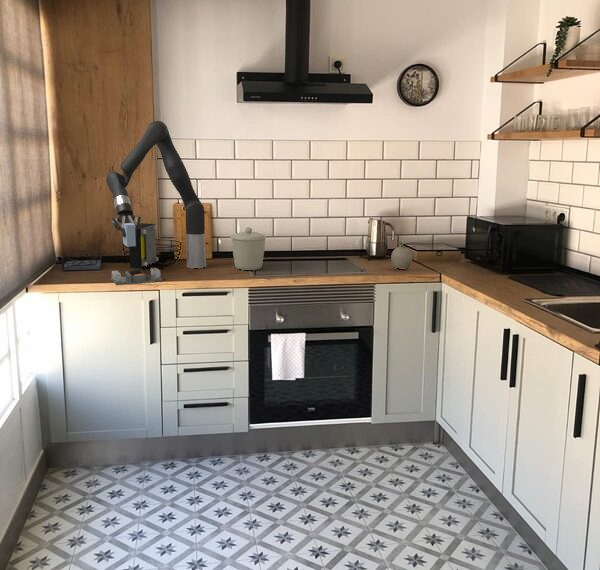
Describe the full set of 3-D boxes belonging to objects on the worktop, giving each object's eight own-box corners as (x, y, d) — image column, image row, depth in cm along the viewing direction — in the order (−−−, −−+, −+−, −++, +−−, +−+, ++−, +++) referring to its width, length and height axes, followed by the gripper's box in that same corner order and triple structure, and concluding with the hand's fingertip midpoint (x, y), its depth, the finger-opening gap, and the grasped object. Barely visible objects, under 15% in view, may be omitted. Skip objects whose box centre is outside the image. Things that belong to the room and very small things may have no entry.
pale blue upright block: (123, 243, 332) (122, 222, 330) (131, 243, 334) (130, 222, 331) (127, 246, 325) (126, 225, 323) (135, 246, 327) (134, 224, 324)
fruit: (405, 266, 365) (407, 238, 361) (414, 271, 354) (416, 241, 350) (386, 267, 362) (388, 238, 359) (395, 271, 351) (396, 242, 348)
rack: (110, 279, 323) (110, 270, 322) (155, 276, 333) (155, 266, 332) (116, 285, 313) (115, 275, 312) (162, 281, 322) (162, 271, 321)
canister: (231, 265, 360) (230, 224, 356) (266, 265, 362) (266, 224, 357) (229, 272, 343) (229, 229, 338) (266, 272, 344) (266, 230, 339)
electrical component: (145, 268, 349) (144, 228, 345) (126, 267, 351) (125, 227, 347) (159, 262, 366) (158, 224, 362) (141, 261, 368) (140, 223, 363)
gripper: (109, 202, 328) (115, 232, 321) (139, 201, 335) (146, 230, 327) (107, 212, 334) (113, 241, 326) (137, 211, 340) (144, 240, 333)
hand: (130, 235), depth 327 cm, fingers closed on pale blue upright block, 4 cm apart
